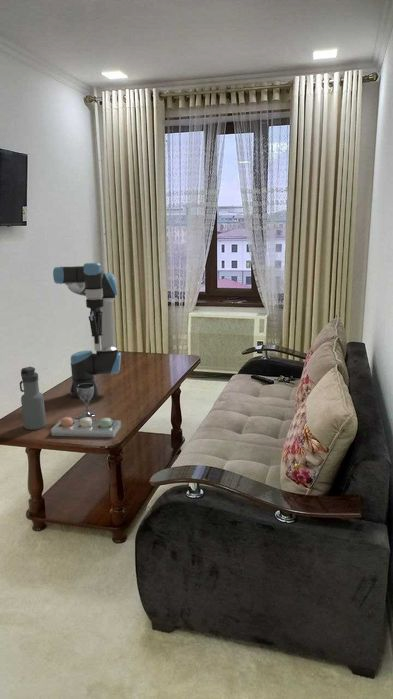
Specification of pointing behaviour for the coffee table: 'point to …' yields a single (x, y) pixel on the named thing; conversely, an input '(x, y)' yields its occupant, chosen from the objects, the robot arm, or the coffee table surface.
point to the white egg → (86, 422)
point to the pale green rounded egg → (105, 423)
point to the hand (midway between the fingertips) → (98, 350)
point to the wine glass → (86, 396)
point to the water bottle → (32, 400)
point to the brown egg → (66, 422)
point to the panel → (86, 429)
